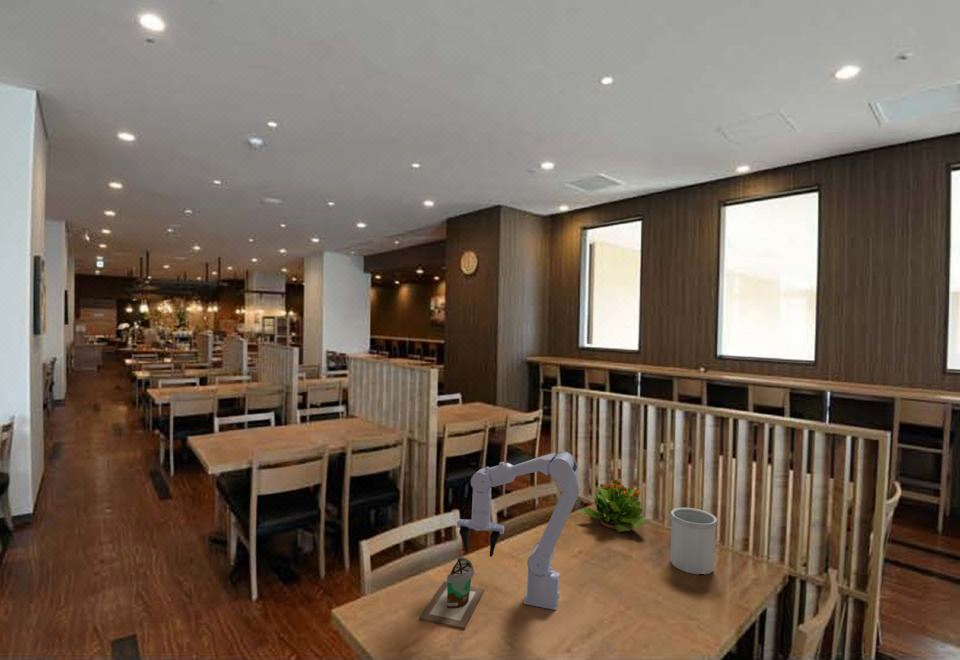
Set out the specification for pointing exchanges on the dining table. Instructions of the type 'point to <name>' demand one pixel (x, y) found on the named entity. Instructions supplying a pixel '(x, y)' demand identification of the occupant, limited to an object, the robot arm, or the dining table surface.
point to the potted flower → (617, 507)
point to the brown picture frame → (448, 616)
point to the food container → (459, 583)
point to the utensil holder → (693, 540)
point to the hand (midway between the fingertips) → (479, 553)
